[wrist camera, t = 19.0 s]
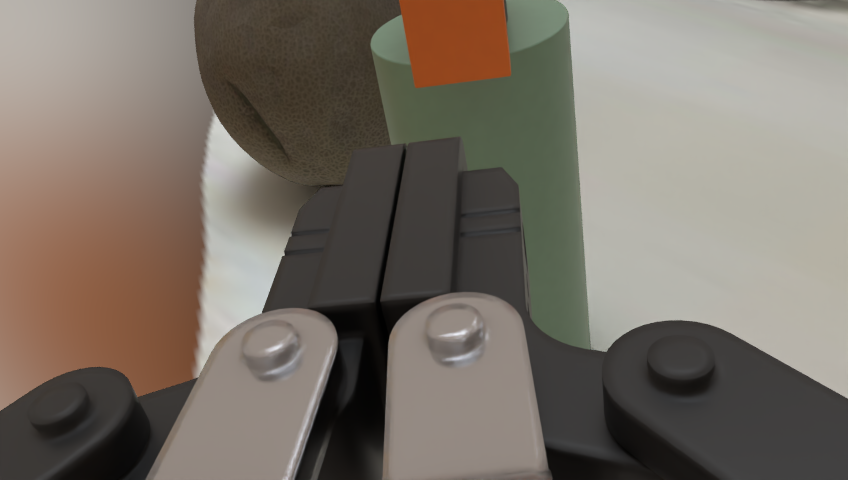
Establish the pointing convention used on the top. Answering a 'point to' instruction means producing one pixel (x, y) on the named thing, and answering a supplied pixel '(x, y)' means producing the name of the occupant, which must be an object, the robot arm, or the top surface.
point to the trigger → (456, 40)
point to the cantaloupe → (295, 80)
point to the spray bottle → (511, 145)
